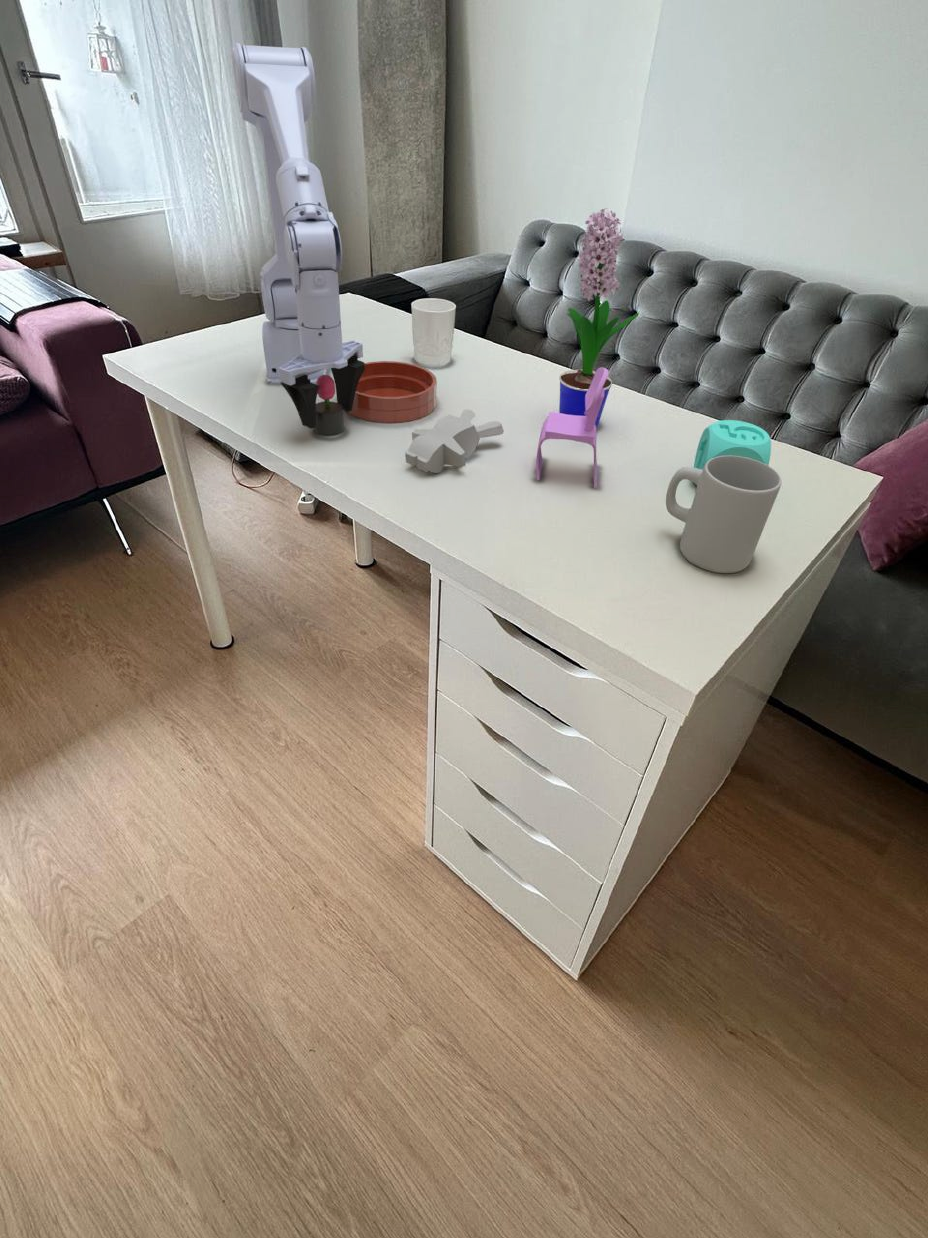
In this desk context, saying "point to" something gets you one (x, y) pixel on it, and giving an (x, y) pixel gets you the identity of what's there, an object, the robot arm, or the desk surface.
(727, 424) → the decorative dice
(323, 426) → the tulip
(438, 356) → the white cup
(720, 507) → the mug
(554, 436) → the toy chair
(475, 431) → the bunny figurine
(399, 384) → the bowl
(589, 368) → the hyacinth
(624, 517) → the desk surface
